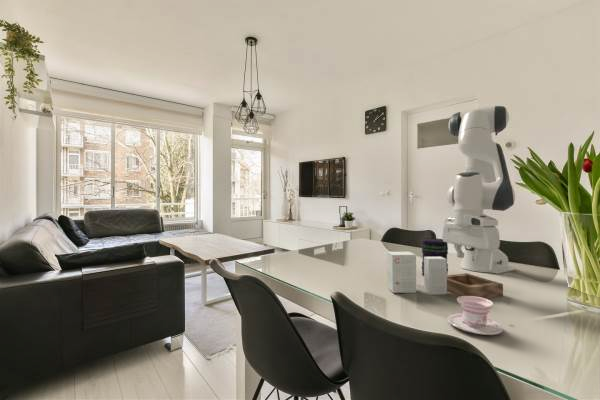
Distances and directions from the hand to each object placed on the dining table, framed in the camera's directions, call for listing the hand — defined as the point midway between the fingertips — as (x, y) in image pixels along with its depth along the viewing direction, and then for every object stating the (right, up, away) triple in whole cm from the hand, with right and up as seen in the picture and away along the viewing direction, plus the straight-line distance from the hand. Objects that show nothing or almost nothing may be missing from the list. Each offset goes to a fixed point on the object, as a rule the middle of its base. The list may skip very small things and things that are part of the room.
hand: (468, 259), depth 99 cm
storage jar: (-2, -11, +20) cm, 23 cm away
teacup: (-13, -12, -26) cm, 31 cm away
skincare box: (-12, -11, -1) cm, 16 cm away
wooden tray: (0, -11, 0) cm, 11 cm away
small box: (-22, -11, +2) cm, 25 cm away
